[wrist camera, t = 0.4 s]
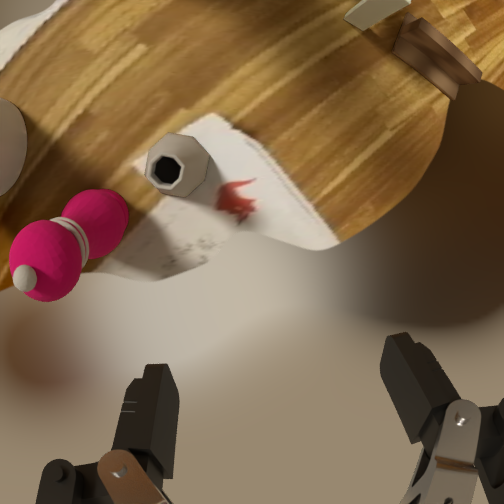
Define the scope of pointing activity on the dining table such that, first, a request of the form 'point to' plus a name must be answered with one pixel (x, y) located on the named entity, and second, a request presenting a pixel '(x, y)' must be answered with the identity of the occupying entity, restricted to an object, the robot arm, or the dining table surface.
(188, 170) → the flask
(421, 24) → the walnut rail
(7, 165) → the utensil holder
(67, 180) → the dining table surface
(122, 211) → the pepper mill
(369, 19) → the pale slotted block
